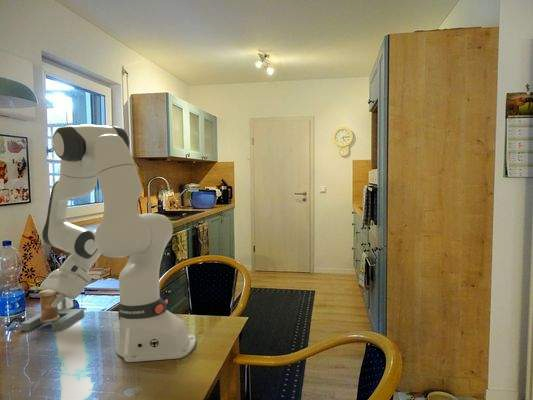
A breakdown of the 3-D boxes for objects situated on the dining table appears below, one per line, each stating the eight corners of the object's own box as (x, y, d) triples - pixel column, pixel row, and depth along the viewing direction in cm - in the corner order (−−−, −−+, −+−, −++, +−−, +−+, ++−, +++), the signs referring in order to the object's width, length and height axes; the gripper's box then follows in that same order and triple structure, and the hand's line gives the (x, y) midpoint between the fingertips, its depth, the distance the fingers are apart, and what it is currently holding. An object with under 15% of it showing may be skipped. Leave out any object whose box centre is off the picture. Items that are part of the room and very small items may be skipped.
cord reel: (63, 316, 138) (61, 288, 137) (52, 323, 132) (50, 293, 131) (47, 316, 138) (45, 289, 138) (36, 322, 132) (34, 294, 132)
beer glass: (62, 304, 157) (60, 267, 157) (78, 304, 156) (76, 267, 156) (51, 310, 151) (48, 272, 150) (67, 310, 150) (65, 272, 149)
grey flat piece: (84, 315, 143) (83, 309, 143) (60, 330, 130) (60, 323, 129) (48, 315, 145) (47, 309, 145) (21, 330, 131) (20, 323, 131)
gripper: (52, 263, 146) (25, 295, 138) (82, 269, 134) (55, 305, 126) (64, 272, 149) (39, 304, 142) (95, 279, 138) (69, 314, 130)
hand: (47, 305), depth 134 cm, fingers closed on cord reel, 5 cm apart
